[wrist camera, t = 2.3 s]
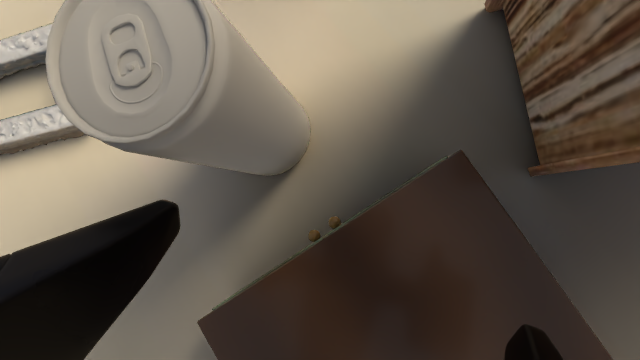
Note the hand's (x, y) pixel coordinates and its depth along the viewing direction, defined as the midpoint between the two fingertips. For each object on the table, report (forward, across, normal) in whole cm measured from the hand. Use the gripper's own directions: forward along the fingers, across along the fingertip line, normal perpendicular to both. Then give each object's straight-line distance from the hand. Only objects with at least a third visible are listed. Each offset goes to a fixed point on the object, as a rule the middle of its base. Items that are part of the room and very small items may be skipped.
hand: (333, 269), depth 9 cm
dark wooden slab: (+6, -3, +9) cm, 12 cm away
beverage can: (+11, +6, +3) cm, 13 cm away
